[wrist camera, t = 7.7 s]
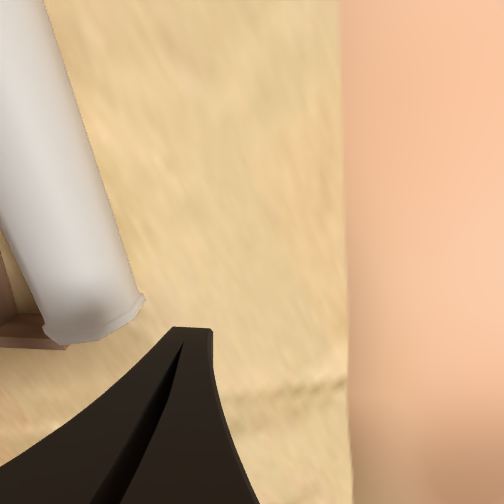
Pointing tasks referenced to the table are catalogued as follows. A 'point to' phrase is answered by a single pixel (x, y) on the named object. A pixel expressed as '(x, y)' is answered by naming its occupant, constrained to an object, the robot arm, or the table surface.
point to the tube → (56, 189)
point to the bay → (20, 322)
